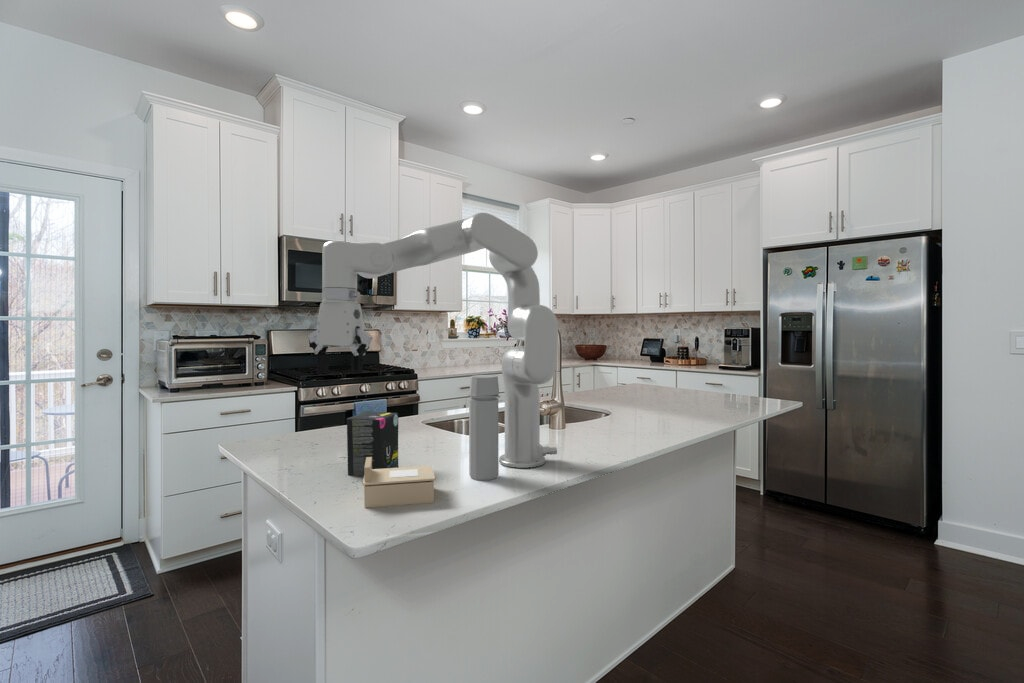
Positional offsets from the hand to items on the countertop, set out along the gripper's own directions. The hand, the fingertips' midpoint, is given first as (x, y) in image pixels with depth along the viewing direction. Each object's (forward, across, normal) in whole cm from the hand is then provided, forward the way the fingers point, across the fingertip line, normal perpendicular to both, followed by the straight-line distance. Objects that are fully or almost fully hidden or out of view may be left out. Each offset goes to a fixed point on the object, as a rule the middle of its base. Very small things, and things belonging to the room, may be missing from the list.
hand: (339, 372), depth 117 cm
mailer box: (+27, -17, 0) cm, 31 cm away
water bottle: (+26, -28, -21) cm, 43 cm away
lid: (+22, -17, +1) cm, 27 cm away
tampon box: (+27, +1, -14) cm, 30 cm away
